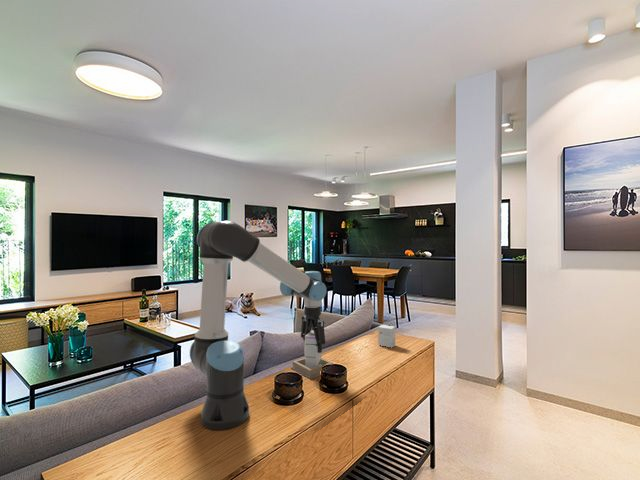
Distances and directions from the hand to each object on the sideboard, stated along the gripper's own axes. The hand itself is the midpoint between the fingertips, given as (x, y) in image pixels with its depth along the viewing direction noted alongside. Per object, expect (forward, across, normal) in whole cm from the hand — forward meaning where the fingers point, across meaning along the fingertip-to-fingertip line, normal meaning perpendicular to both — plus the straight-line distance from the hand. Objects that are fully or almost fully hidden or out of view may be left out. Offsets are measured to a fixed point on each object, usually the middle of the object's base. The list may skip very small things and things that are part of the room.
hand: (312, 356), depth 145 cm
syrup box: (+4, 0, 0) cm, 4 cm away
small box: (+6, 0, -51) cm, 51 cm away
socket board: (+6, 0, 0) cm, 6 cm away
